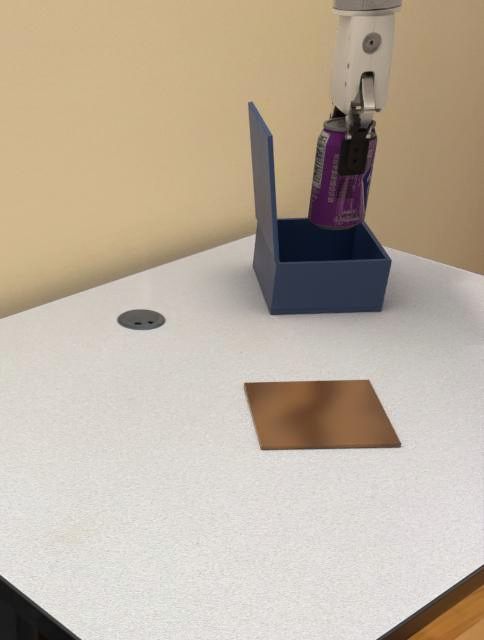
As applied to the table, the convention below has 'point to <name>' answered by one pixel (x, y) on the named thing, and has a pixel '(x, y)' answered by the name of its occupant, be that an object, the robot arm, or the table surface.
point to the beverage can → (338, 181)
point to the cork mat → (319, 415)
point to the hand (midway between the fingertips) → (343, 164)
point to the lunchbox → (321, 269)
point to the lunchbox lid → (264, 179)
